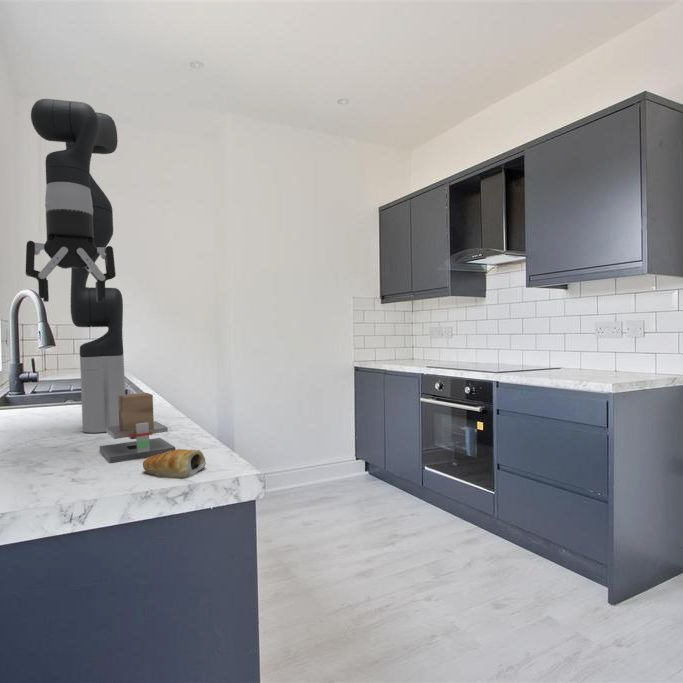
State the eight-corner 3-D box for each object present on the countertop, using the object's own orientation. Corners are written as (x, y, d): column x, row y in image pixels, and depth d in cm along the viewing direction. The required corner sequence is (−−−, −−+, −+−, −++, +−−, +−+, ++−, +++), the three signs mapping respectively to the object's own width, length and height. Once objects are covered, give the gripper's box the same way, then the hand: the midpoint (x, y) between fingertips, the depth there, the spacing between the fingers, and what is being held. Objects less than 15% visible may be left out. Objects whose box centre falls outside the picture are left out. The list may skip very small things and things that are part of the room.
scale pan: (105, 437, 92) (105, 427, 92) (155, 430, 97) (155, 421, 97) (116, 447, 83) (115, 436, 83) (170, 439, 88) (170, 428, 88)
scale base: (99, 451, 92) (98, 419, 92) (160, 442, 98) (159, 412, 98) (109, 463, 83) (108, 427, 83) (175, 452, 89) (174, 419, 89)
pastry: (132, 478, 75) (131, 453, 75) (159, 466, 81) (158, 443, 81) (187, 480, 72) (186, 454, 72) (210, 468, 79) (209, 444, 79)
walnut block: (119, 427, 91) (118, 395, 91) (147, 423, 94) (146, 392, 94) (124, 431, 87) (123, 397, 87) (153, 427, 90) (152, 394, 90)
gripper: (108, 221, 96) (112, 303, 97) (22, 212, 88) (26, 302, 89) (115, 212, 90) (119, 300, 90) (23, 202, 82) (27, 299, 82)
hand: (73, 301), depth 89 cm, fingers open, 8 cm apart
